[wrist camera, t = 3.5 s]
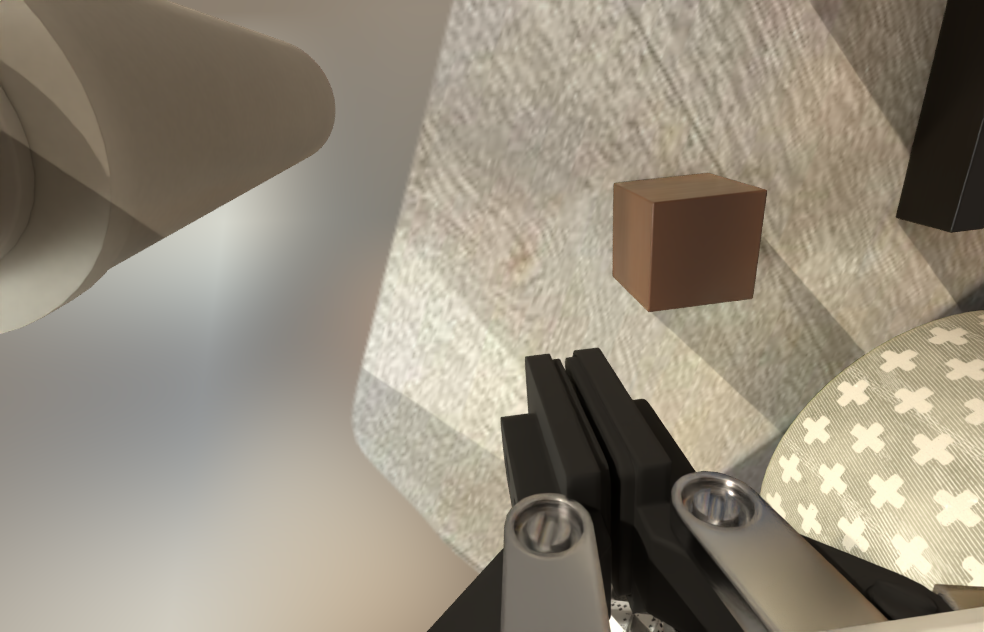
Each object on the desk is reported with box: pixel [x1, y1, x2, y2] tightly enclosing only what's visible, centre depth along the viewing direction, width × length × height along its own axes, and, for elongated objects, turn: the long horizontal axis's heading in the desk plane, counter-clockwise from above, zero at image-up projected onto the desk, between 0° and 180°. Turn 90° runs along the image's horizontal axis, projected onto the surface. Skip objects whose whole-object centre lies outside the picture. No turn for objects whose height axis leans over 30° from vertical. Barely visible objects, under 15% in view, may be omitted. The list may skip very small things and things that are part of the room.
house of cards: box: [609, 583, 663, 632], centre depth 29 cm, size 9×9×8 cm
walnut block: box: [613, 173, 767, 312], centre depth 22 cm, size 4×4×4 cm
